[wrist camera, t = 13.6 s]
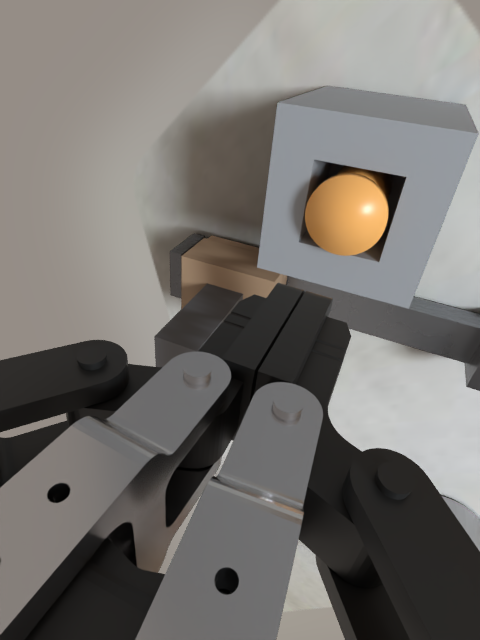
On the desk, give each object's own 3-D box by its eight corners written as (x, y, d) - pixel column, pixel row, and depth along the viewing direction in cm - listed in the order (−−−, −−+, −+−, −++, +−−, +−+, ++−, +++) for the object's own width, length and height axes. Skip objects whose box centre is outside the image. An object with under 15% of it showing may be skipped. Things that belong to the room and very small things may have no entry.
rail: (502, 313, 28) (510, 345, 25) (478, 356, 30) (482, 391, 27) (194, 233, 34) (169, 251, 31) (193, 274, 37) (170, 295, 34)
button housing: (466, 104, 23) (478, 133, 15) (414, 244, 28) (404, 318, 20) (327, 85, 25) (277, 102, 17) (303, 218, 30) (255, 277, 22)
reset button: (407, 157, 21) (398, 185, 17) (386, 224, 23) (374, 264, 19) (337, 145, 22) (313, 168, 17) (324, 210, 24) (299, 245, 20)
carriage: (295, 253, 31) (233, 340, 22) (283, 317, 34) (225, 416, 25) (211, 232, 33) (121, 304, 23) (208, 295, 36) (129, 379, 27)
